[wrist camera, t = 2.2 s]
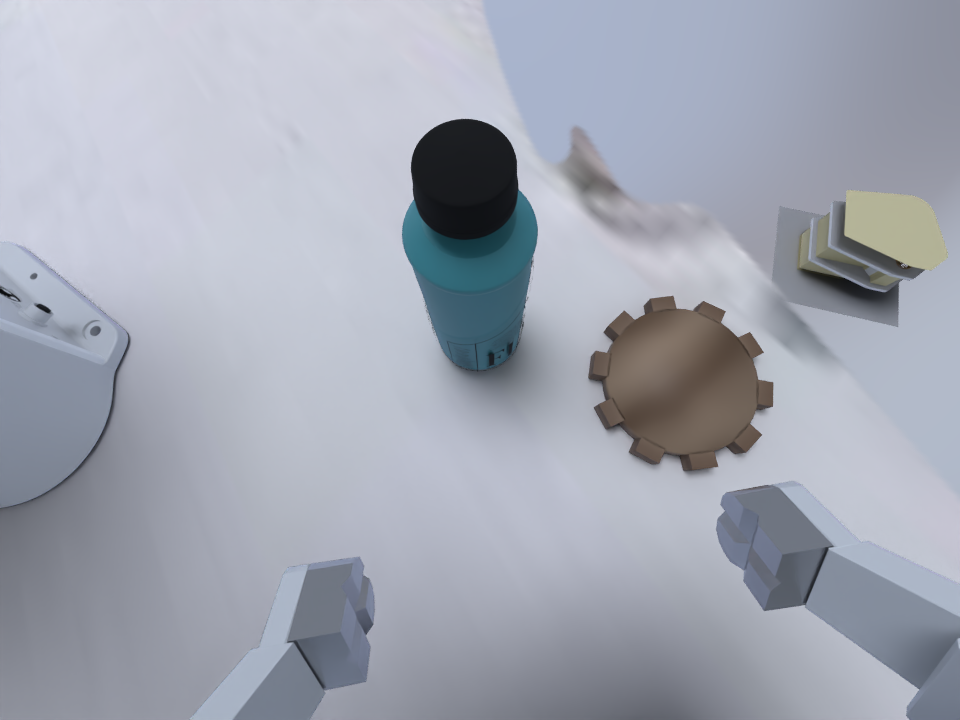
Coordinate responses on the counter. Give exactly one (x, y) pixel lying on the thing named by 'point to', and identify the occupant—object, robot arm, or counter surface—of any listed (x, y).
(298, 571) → the robot arm
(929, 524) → the counter surface
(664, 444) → the gear plate
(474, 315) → the beverage bottle
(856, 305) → the stacked layers on plate
